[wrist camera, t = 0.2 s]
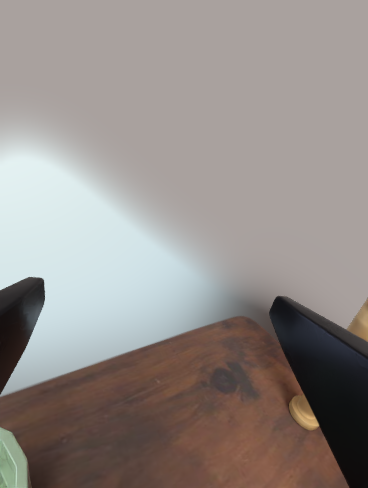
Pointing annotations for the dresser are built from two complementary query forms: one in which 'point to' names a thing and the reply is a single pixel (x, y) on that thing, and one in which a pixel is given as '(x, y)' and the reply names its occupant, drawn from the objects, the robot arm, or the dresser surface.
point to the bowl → (12, 462)
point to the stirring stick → (364, 327)
